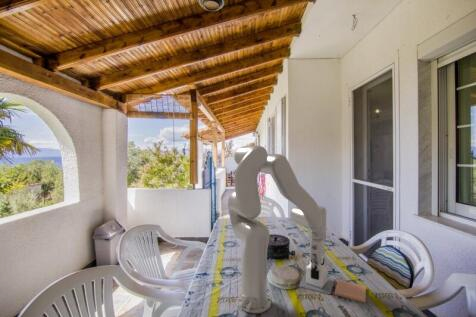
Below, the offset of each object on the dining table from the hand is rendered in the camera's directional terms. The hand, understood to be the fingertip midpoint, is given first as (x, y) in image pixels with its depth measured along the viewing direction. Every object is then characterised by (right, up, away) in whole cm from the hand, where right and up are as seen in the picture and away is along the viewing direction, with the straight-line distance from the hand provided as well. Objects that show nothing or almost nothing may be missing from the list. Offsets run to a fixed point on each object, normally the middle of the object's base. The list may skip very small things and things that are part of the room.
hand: (316, 274), depth 106 cm
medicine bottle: (0, -4, 0) cm, 4 cm away
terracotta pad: (+12, -4, -6) cm, 14 cm away
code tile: (0, -4, 0) cm, 4 cm away
